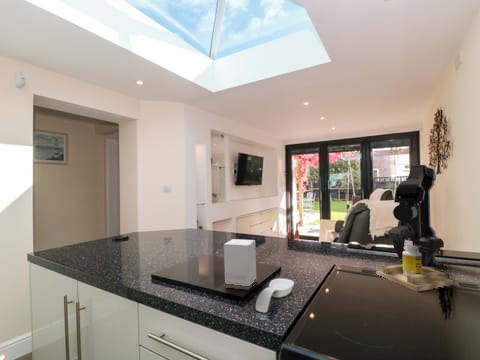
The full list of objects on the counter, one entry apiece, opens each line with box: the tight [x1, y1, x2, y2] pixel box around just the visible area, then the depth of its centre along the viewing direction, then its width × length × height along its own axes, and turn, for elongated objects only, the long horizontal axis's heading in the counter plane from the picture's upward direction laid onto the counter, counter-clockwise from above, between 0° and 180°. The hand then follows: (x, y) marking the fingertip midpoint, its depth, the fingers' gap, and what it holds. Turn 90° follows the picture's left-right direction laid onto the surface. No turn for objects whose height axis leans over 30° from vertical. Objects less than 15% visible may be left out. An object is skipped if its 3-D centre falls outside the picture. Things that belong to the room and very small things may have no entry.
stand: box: [375, 263, 454, 292], centre depth 90 cm, size 16×16×4 cm
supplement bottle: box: [402, 244, 423, 276], centre depth 90 cm, size 6×6×10 cm
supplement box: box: [223, 238, 257, 286], centre depth 89 cm, size 9×9×15 cm
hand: (412, 262), depth 90 cm, fingers open, 9 cm apart
